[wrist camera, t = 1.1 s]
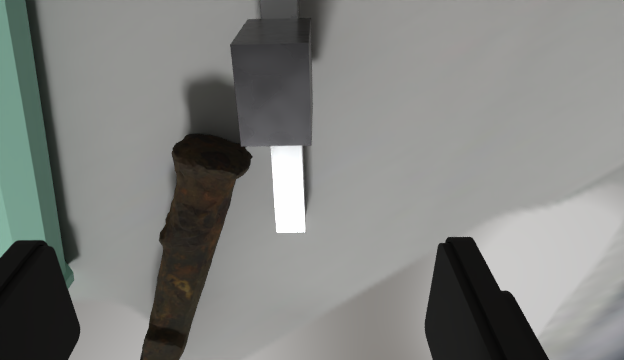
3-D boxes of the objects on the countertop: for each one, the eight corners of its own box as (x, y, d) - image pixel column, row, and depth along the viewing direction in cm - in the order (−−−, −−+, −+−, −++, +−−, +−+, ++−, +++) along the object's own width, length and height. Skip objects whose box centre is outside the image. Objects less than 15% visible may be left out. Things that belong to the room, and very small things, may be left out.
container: (-146, -104, 20) (-25, 321, 32) (14, -84, 22) (72, 306, 34) (-100, -104, 25) (-9, 266, 37) (28, -87, 27) (75, 256, 39)
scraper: (307, -188, 24) (301, -237, 16) (315, 212, 35) (315, 290, 28) (237, -186, 24) (200, -234, 16) (269, 212, 35) (256, 291, 28)
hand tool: (188, 120, 32) (164, 156, 27) (256, 143, 32) (244, 183, 28) (130, 339, 42) (105, 394, 37) (182, 353, 43) (164, 409, 38)
